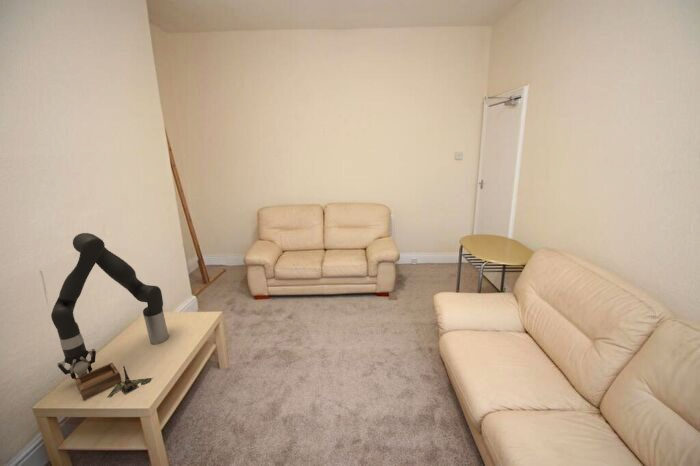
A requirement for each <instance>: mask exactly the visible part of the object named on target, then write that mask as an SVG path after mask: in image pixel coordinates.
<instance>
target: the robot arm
mask: <svg viewBox="0 0 700 466" xmlns="http://www.w3.org/2000/svg"><path fill="white" fill-rule="evenodd" d="M72 246H73V248H74V250H75V251H76V252H78V253H79V257H78V260H77V263H76V265H75V266H74V268H73V269H72V271H70V273H69V274H68V275H67V277H66V278H65V280H63V283H62V285H61V288H60V292H59V296H58V297H57V299H56V301H55V303H54V306H53V309H52V311H51V314H50V317H51V320H52V323H53V326H55V327H54V328H56V330H57V335H58V338H59V342H60V346H61V349H62V352H63V356H64V360H63V361H61V362H58V363H57V367H58V369H59V370H60V371H61V372H62V373H63V375H68V374H70V377H71V379H72V380H75V379H76V378H77V374H76V373H75V372H74V371H73V368H74V367H75V364H76V363H78V362H80V361H83V362H86V363H87V362H88V368H87V373H89V372H91V371H93V368H92V364H94V363H96V355H97V354H96V353H97V350H96V349H95V348H93V349H91V350H87V348H86V345H85V342H84V341H85V340H84V337H83V335H82V333H81V330H80V327H79V324H78V323H77V321H76V319H75V315H74V310H75V308H76V304H77V301H78V299H79V297H80V296H81V294H82V291H83V290H84V286H85V283H86V281H87V279H88V277H89V275H90V274H91V272H92V270H93V268H94V266H95V265H97V266H98V267H99V268H100V269H101V270H102V271H103V272H104V273H105V274H107V275H108V276H109V277H110V278H111V279H112V280H113V281H114V282H116V283H117V284H119V285H120V286H122V287H123V288H124V289H126V291H128V292H129V293H130V294H131V295H132V296H133V297H134V298H135V299H136V300H137V301H139V302H141V303H146V304H147V306H146V307H145V308H144V309H143V310H142V314H143V317H144V322H145V326H146V330H147V335H148V340H149V343H150V344H151V345H158V344H162V343H164V342H165V341H167V340H168V339H169V333H168V332H169V331H168V327H167V323H166V318H165V313H164V308H163V307H164V300H163V294H162V289H161V288H160V287H159V286H158V285H149V284H145V283H144V282H142V281H141V280H140V279H138V278H137V274H136V271H135V269H134V268H133V266H131V265H130V264H129V263H128V262H127V261H125V260H124V259H123V258H121V257H120V256H119V255H116V254H115V253H113V252H112V251H110V250H109V249H108V248H106V247H105V242H104V241H103V239H102V238H100V237H98V236H97V235H95V234H94V233H89V232H83V233H82V232H81V233H78V234H76V235H75V236H74V237H73V239H72ZM88 355H90V360H88V359H87V357H88ZM66 364H67V365H69V369H67V368H66V367H65V366H66Z"/></svg>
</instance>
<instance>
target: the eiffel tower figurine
mask: <svg viewBox="0 0 700 466" xmlns="http://www.w3.org/2000/svg"><path fill="white" fill-rule="evenodd" d="M122 368H123V372H124V381H122V382H121V383H119V384H117V385H115V386H114V388H113V389H112V390H111V391H110V392H109V394H108V395H107V397H106V398H109V399H110V398H113V396H114V395H116V394H118V393H119V392H121V393H123V395H124V396H126V395H128V394H130V393H132V392H133V391H135V390H137V389H139V388H140V386H139V384H140V385H141V386H143V385H144V386H145V385H147V384H149V383H151V381H152V379H153V377H147V378H138V379H131V378H130V377H129V375H128V373H127V370H126V367H125V365H124V364H123V366H122Z"/></svg>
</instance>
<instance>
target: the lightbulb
mask: <svg viewBox="0 0 700 466" xmlns="http://www.w3.org/2000/svg"><path fill="white" fill-rule="evenodd" d="M87 368H88V362H87V363H86V362H83V361H80V362H78V363H76V364H75V367H74V368H73V371H74V372H75V375H76V376H77V378H78V377H80V376H82V375H85V374H87V373H88V369H87Z"/></svg>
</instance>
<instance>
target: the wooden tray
mask: <svg viewBox="0 0 700 466" xmlns="http://www.w3.org/2000/svg"><path fill="white" fill-rule="evenodd" d="M74 380H75V383H76V386H77V389H78V391H79V392H80V395H81V397H82V399H83V401H86V400H88V399H90V398H92V397H94V396H96V395H98V394H100V393H102V392H104V391H106V390H108V389H110V388H113V387H115V386H116V385H117V384H119V383H121V382H123V381H122V376H121V374H120V372H119V369H118V368H117V367H116V365H115V364H114V363H113V362H110V363H108V364H105V365H103V366H101V367H98V368H96V369H94V370H92V371H91V372H87V374H85V375H82V376H80V377H78V376H77V377H76V379H74Z"/></svg>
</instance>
